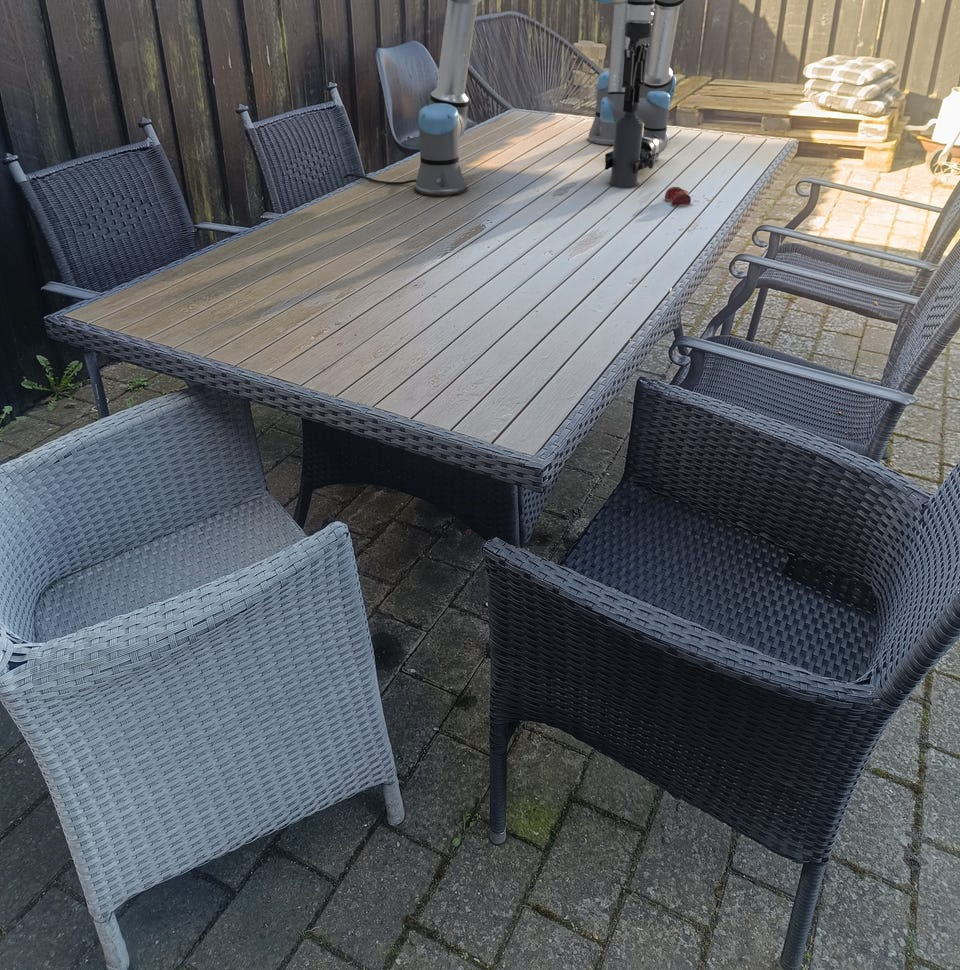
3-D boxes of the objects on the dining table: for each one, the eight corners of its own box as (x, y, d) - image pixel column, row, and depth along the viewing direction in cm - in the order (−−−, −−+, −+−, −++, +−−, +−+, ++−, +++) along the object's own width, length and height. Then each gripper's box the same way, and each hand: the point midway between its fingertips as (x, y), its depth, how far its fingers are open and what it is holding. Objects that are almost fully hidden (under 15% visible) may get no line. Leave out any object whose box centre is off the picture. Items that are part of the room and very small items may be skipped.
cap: (633, 112, 249) (634, 104, 247) (620, 110, 251) (621, 102, 250) (640, 109, 251) (641, 102, 250) (628, 107, 253) (628, 100, 252)
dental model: (681, 182, 249) (693, 190, 243) (680, 196, 252) (692, 205, 246) (664, 184, 248) (675, 192, 242) (662, 199, 251) (674, 207, 245)
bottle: (632, 189, 259) (641, 109, 246) (607, 185, 262) (613, 107, 249) (639, 181, 265) (648, 103, 252) (614, 178, 268) (621, 101, 255)
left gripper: (640, 26, 230) (631, 117, 243) (662, 18, 242) (653, 106, 256) (615, 24, 233) (607, 114, 246) (638, 17, 245) (629, 103, 259)
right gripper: (674, 166, 271) (652, 184, 255) (612, 158, 279) (587, 175, 263) (677, 141, 267) (655, 158, 250) (614, 134, 275) (588, 150, 258)
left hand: (630, 109), depth 251 cm, fingers closed on cap, 4 cm apart
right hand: (620, 167), depth 257 cm, fingers closed on bottle, 8 cm apart
